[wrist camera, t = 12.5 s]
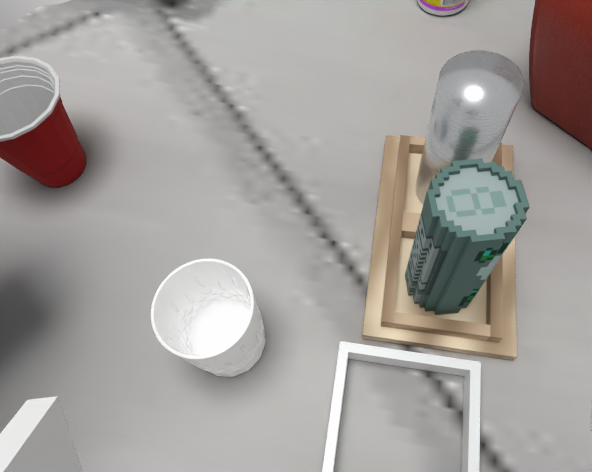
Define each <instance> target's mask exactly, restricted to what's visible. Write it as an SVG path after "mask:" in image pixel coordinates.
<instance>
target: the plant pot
mask: <svg viewBox="0 0 592 472" xmlns="http://www.w3.org/2000/svg"><path fill="white" fill-rule="evenodd" d="M529 80H530V94H531V101H532V105H533V107H534V108H535V109H536V110H537V111H539V112H540V113H542V114H543V115H544V116H546V117H547V118H549V119H550V120H551V121H553V122H554V123H556V124H557V125H559V126H560V127H561V128H563V129H564V130H566V131H567V132H568V133H570V134H571V135H573V136H574V137H576V138H577V139H578V140H580V141H581V142H583V143H584V144H586V145H587V146H588V147H590V148H591V149H592V0H535V7H534V13H533V20H532V28H531V38H530V52H529Z"/></svg>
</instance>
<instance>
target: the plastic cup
mask: <svg viewBox="0 0 592 472" xmlns="http://www.w3.org/2000/svg"><path fill="white" fill-rule="evenodd" d="M0 158H2V159H3V160H5V161H6V162H8V163H9V164H11V165H13V166H14V167H16V168H17V169H19V170H20V171H22V172H24V173H25V174H27V175H29V176H31V177H32V178H34V179H36V180H37V181H39V182H40V183H42V184H44V185H47V186H49V187H61V186H65V185H68V184H70V183H71V182H73V181H75V180H76V179H77V178H78V177H79V176H80V175H81V174H82V173H83V170H84V168H85V165H86V157H85V153H84V151H83V149H82V147H81V145H80V143H79V141H78V139H77V135H76V132H75V130H74V128H73V126H72V124H71V122H70V119H69V117H68V115H67V113H66V111H65V109H64V106H63V104H62V100H61V97H60V81H59V77H58V76H57V74H56V73H55V71H54V70H53V68H52V67H51V65H49V64H47V63H45V62H43V61H41V60H39V59H37V58H32V57H22V56H12V57H6V58H0Z"/></svg>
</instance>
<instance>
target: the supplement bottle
mask: <svg viewBox="0 0 592 472" xmlns="http://www.w3.org/2000/svg"><path fill="white" fill-rule="evenodd" d="M417 1H418V4H419V5H420V7H421V8H422V9H423V10H425V11H426V12H428V13H431V14H434V15H441V16H445V15H451V14H455V13H457V12H459V11H461V10H462V9H463V8H464V7H465V6H466V5H467V4H468V2H469V0H417Z"/></svg>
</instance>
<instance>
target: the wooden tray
mask: <svg viewBox="0 0 592 472" xmlns="http://www.w3.org/2000/svg"><path fill="white" fill-rule="evenodd" d="M425 138H426V137H414V136H402V135H401V136H400V137H398V136H386V139H385V148H384V156H383V165H382V173H381V182H380V190H379V199H378V207H377V215H376V224H375V232H374V241H373V249H372V258H371V266H370V275H369V283H368V291H367V300H366V308H365V317H364V325H363V334H362V338H363V339H370V340H377V341H384V342H391V343H397V344H404V345H411V346H418V347H425V348H432V349H439V350H446V351H453V352H459V353H466V354H473V355H480V356H487V357H494V358H501V359H508V360H514V359H515V358H516V357H517V342H516V283H515V237H514V238H513V240H512V241H511V243H510V244H509V246H508V247H507V249H506V250H505V252H504V253H503V255H502V256H501V258H500V260H499V261H498V263H497V264H496V266H495V267H494V269H493V270H492V272H491V273H490V275H489V276H488V278H487V279H486V281H485V282H484V284H483V285H482V287H481V288H480V290H479V291H478V293H477V294H476V296H475V297H474V298H473V299H472V301H471V302H470V303H469V305H468V306H467V308H461V309H460V311H459V313H454V314H443V315H435V312H434V311H427V312H425V309H424V307H422V308H420V307H419V303H418V304H414V299H413V295H411V296H408V291H407V285H406V280H405V272H406V268H407V265H408V261H409V257H410V253H411V249H412V246H413V242H414V238H415V234H416V230H417V227H418V223H419V219H420V215H421V211H422V208H423V205H422V203H421V202H420V201H419V199H418V197H417V195H416V191H415V184H416V179H417V175H418V170H419V166H420V161H421V157H422V152H423V148H424V143H425ZM492 162H496V163H497V166H498V167H499V166H504V168H505V171H511V170H512V173H513V177H514V166H513V146H512V145H502V143H500V144H499V147H498V149H497V151H496V153H495V156H494V158H493V160H492Z"/></svg>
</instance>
